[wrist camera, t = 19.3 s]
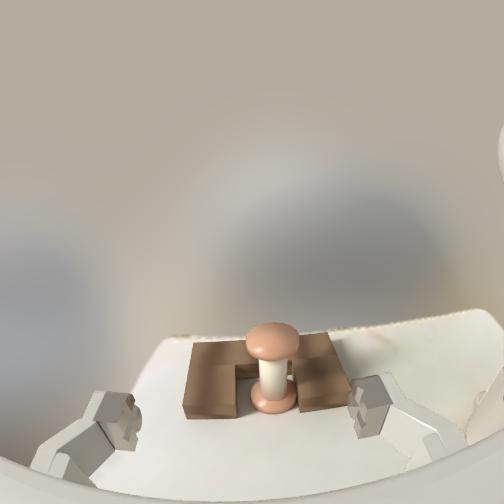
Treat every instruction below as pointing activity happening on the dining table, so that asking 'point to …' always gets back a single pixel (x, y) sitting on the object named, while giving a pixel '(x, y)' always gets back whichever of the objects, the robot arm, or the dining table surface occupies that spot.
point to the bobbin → (273, 366)
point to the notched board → (246, 366)
